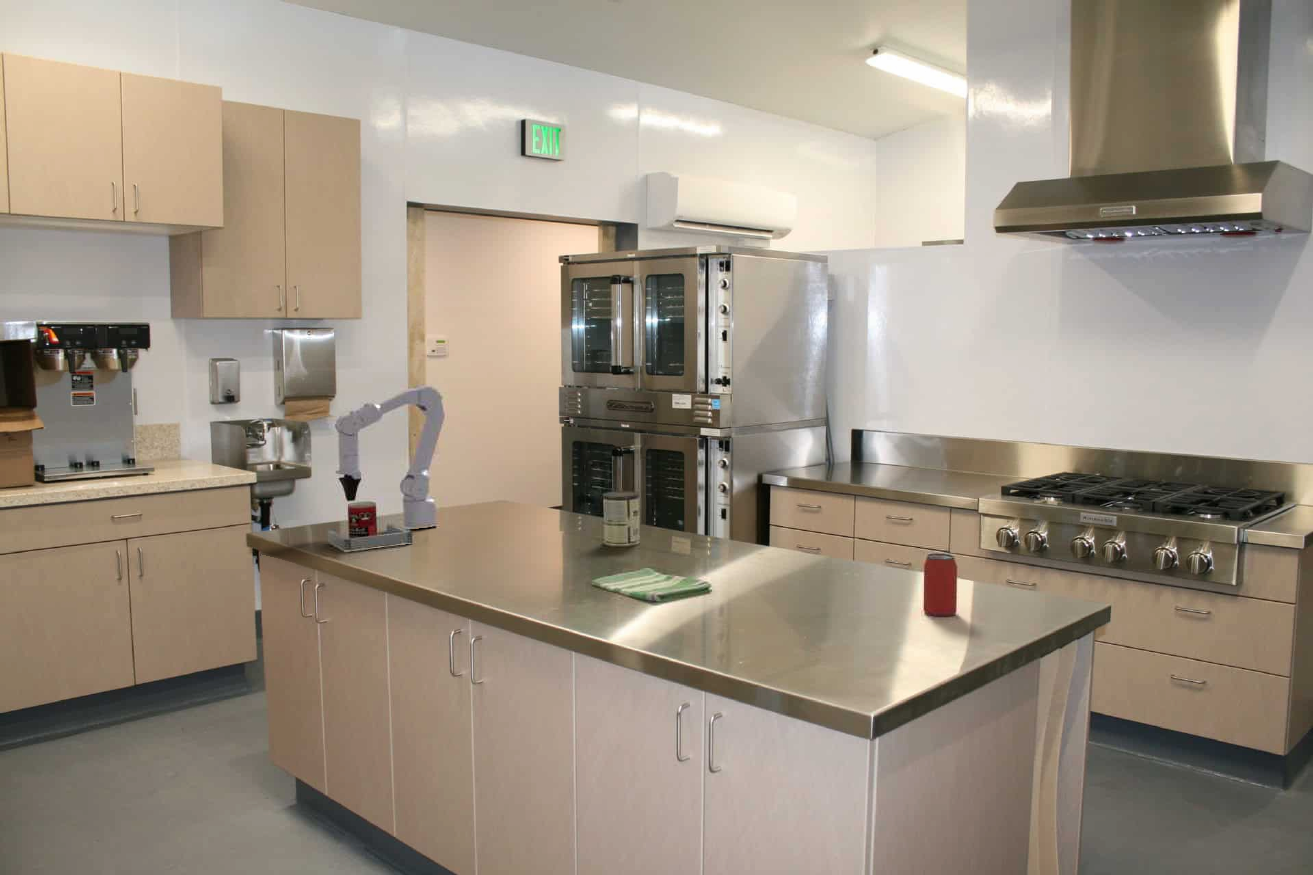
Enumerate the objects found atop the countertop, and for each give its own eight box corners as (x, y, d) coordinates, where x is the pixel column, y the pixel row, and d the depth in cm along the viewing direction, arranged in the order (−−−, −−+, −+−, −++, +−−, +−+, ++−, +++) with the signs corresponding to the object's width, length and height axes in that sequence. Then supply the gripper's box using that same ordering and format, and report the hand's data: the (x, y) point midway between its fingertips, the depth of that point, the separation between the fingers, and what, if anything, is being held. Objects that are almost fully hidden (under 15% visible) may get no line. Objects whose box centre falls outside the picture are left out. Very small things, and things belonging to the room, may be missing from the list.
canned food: (343, 542, 290) (342, 505, 289) (360, 537, 298) (359, 500, 297) (365, 544, 288) (364, 506, 287) (382, 539, 295) (381, 502, 294)
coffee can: (606, 539, 292) (605, 490, 290) (641, 539, 291) (641, 490, 289) (600, 546, 281) (600, 496, 280) (637, 546, 280) (637, 496, 279)
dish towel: (650, 575, 247) (649, 564, 247) (714, 592, 229) (714, 581, 229) (590, 587, 236) (590, 576, 236) (653, 606, 218) (653, 594, 218)
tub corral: (392, 535, 300) (391, 523, 300) (412, 544, 287) (412, 532, 287) (327, 543, 290) (327, 531, 289) (345, 552, 276) (345, 540, 276)
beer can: (931, 607, 213) (932, 551, 212) (961, 612, 209) (962, 555, 208) (917, 614, 208) (918, 556, 207) (948, 619, 204) (949, 560, 202)
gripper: (328, 454, 304) (329, 498, 305) (343, 458, 292) (345, 504, 293) (351, 452, 308) (353, 496, 309) (367, 456, 296) (369, 502, 297)
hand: (350, 500), depth 301 cm, fingers closed
